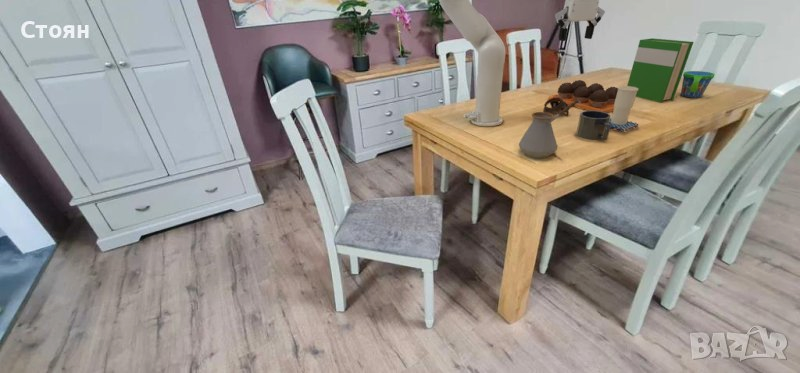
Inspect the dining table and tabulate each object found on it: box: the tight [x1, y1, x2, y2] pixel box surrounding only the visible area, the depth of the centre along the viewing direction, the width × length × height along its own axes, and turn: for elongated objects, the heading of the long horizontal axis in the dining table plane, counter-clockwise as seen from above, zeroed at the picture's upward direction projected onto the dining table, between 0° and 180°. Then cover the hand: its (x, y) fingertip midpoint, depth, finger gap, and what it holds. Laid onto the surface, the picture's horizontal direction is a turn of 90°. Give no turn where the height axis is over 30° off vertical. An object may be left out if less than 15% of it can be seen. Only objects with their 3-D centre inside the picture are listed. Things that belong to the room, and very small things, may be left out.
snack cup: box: [680, 70, 716, 99], centre depth 149 cm, size 16×10×10 cm
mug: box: [575, 110, 612, 141], centre depth 114 cm, size 12×9×8 cm
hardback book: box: [626, 38, 694, 103], centre depth 148 cm, size 18×7×24 cm, turn 20°
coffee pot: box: [518, 100, 581, 159], centre depth 106 cm, size 21×12×15 cm, turn 117°
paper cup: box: [610, 85, 638, 125], centre depth 119 cm, size 6×6×13 cm
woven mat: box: [609, 117, 640, 134], centre depth 123 cm, size 10×11×2 cm
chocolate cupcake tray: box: [548, 79, 618, 113], centre depth 149 cm, size 28×17×8 cm, turn 25°
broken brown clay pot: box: [542, 97, 570, 116], centre depth 139 cm, size 12×10×8 cm
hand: (575, 39), depth 116 cm, fingers open, 9 cm apart
